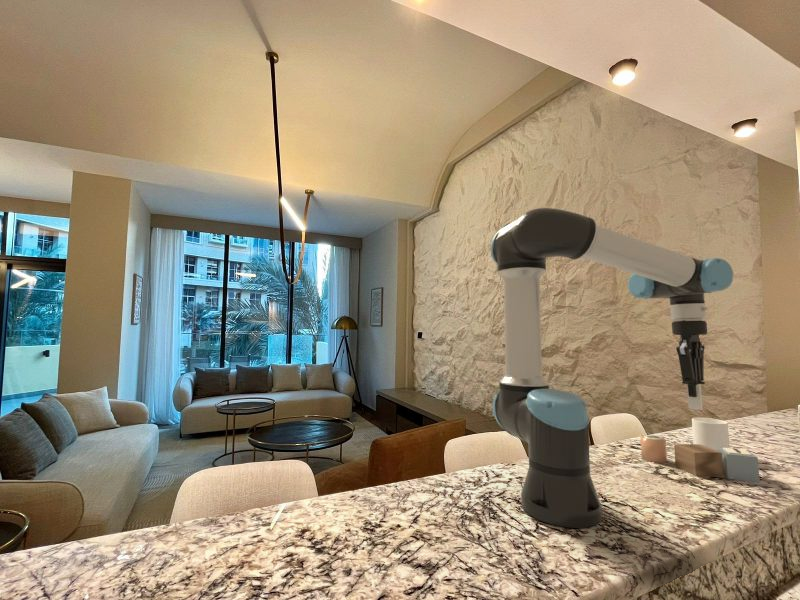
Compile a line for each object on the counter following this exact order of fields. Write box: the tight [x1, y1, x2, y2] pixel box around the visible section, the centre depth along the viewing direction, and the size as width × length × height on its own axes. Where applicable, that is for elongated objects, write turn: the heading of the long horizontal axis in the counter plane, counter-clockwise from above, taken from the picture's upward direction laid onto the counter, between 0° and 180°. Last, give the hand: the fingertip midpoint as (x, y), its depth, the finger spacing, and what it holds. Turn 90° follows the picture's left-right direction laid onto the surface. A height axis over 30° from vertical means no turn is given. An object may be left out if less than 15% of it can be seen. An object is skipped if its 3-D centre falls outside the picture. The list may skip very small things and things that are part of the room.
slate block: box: [718, 447, 761, 483], centre depth 95 cm, size 6×6×6 cm
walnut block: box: [673, 443, 724, 478], centre depth 99 cm, size 7×7×6 cm
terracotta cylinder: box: [640, 434, 668, 464], centre depth 108 cm, size 6×6×6 cm
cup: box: [691, 417, 731, 451], centre depth 112 cm, size 8×12×10 cm
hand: (695, 409), depth 100 cm, fingers closed
